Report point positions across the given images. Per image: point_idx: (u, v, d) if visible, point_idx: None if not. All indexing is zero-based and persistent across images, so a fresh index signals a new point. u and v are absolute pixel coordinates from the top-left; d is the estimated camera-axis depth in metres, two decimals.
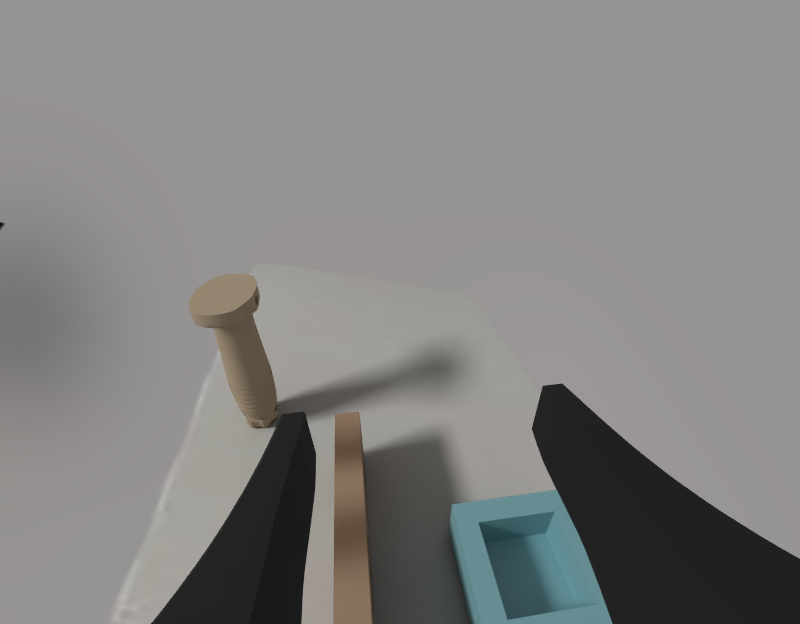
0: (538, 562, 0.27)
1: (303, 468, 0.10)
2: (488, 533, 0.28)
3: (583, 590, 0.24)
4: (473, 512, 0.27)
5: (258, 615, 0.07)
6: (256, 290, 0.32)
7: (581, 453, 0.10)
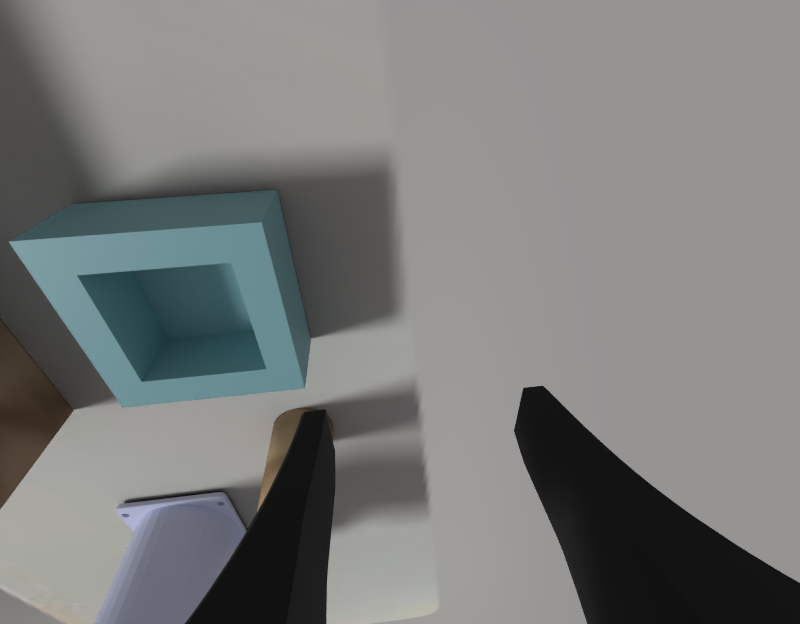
0: (228, 268, 0.18)
1: (326, 465, 0.10)
2: None
3: None
4: (62, 258, 0.14)
5: (293, 610, 0.07)
6: None
7: (558, 456, 0.10)
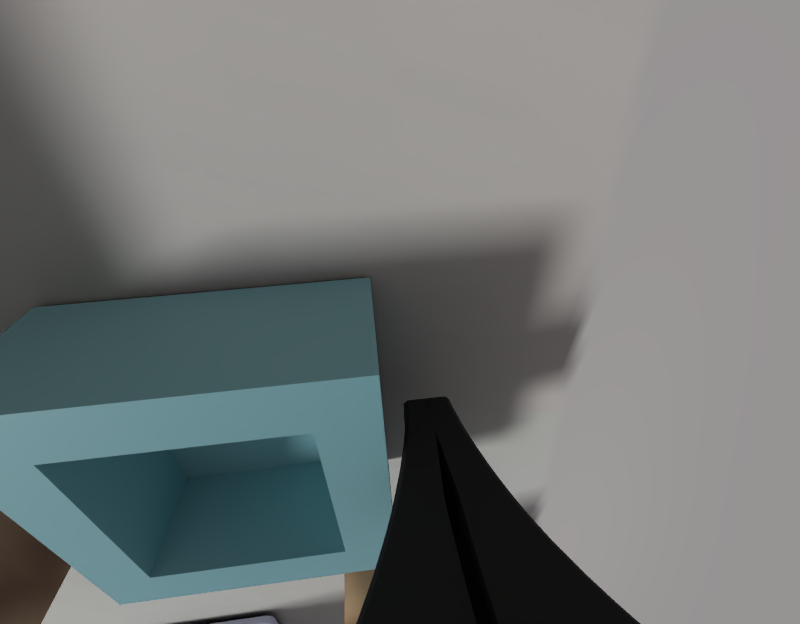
0: None
1: None
2: None
3: None
4: (4, 444, 0.07)
5: None
6: None
7: (443, 470, 0.09)
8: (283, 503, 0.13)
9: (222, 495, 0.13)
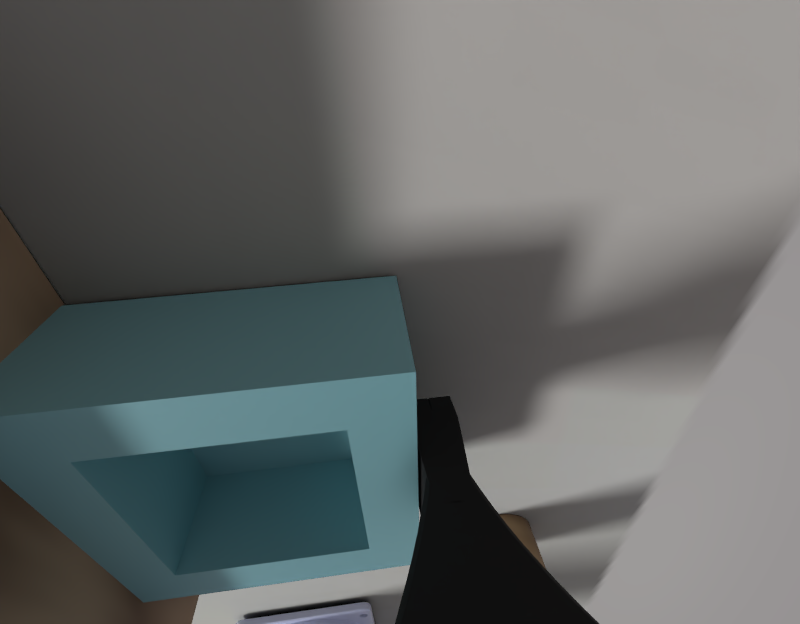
0: None
1: None
2: None
3: None
4: (42, 441, 0.07)
5: None
6: None
7: (421, 473, 0.09)
8: (305, 501, 0.13)
9: (243, 493, 0.13)
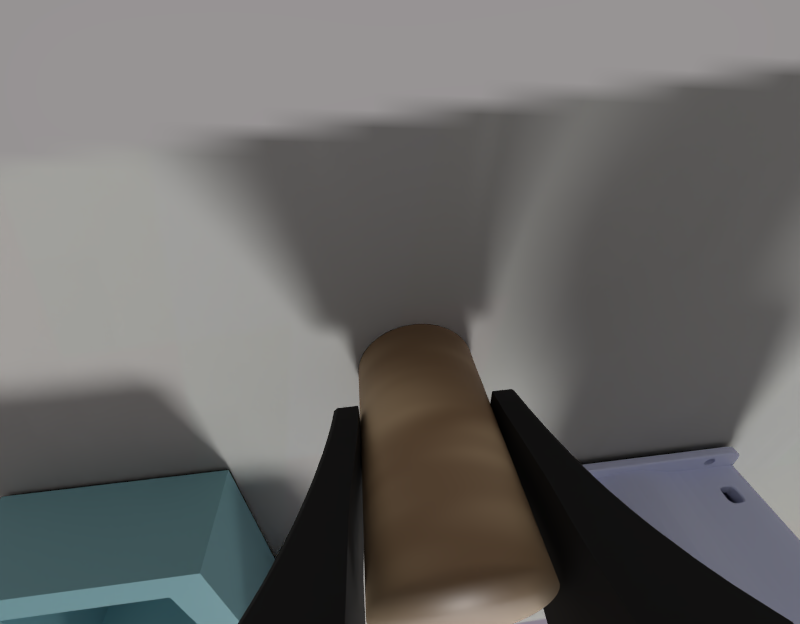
0: None
1: (360, 461, 0.10)
2: None
3: None
4: None
5: (348, 602, 0.07)
6: None
7: (522, 460, 0.10)
8: None
9: None
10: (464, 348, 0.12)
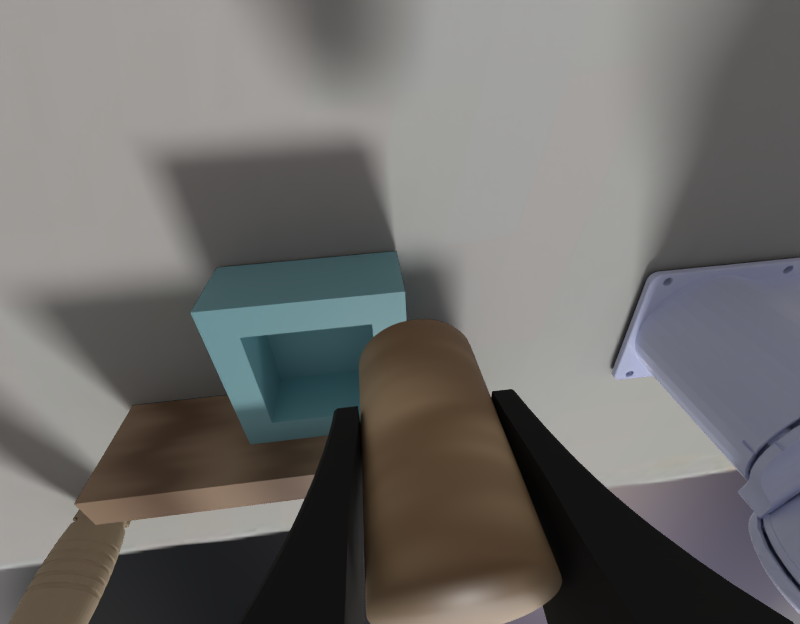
0: None
1: (360, 461, 0.10)
2: (273, 383, 0.20)
3: None
4: (258, 426, 0.20)
5: (347, 602, 0.07)
6: None
7: (522, 460, 0.10)
8: None
9: None
10: (467, 345, 0.12)
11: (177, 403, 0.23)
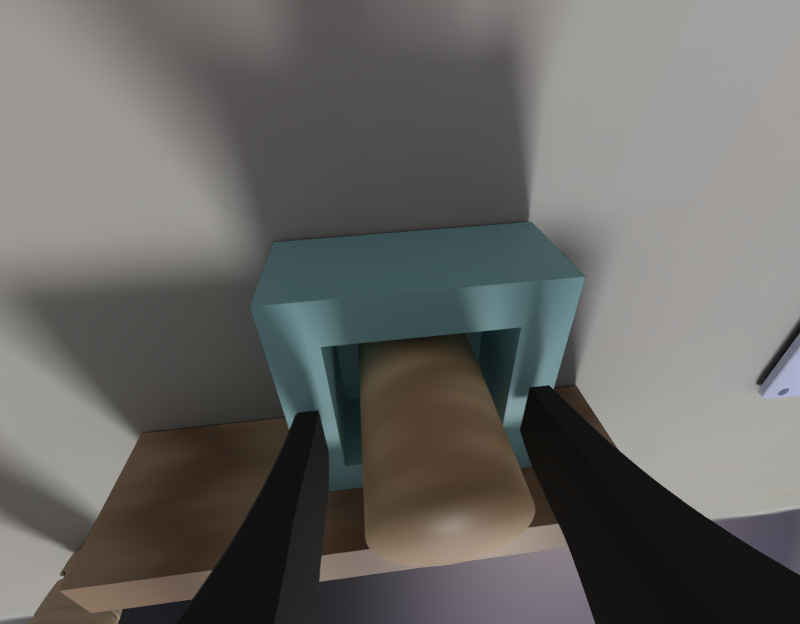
0: None
1: (318, 466, 0.10)
2: (342, 408, 0.15)
3: None
4: None
5: (282, 612, 0.07)
6: None
7: (566, 455, 0.10)
8: (494, 343, 0.13)
9: (484, 375, 0.15)
10: None
11: (202, 431, 0.17)
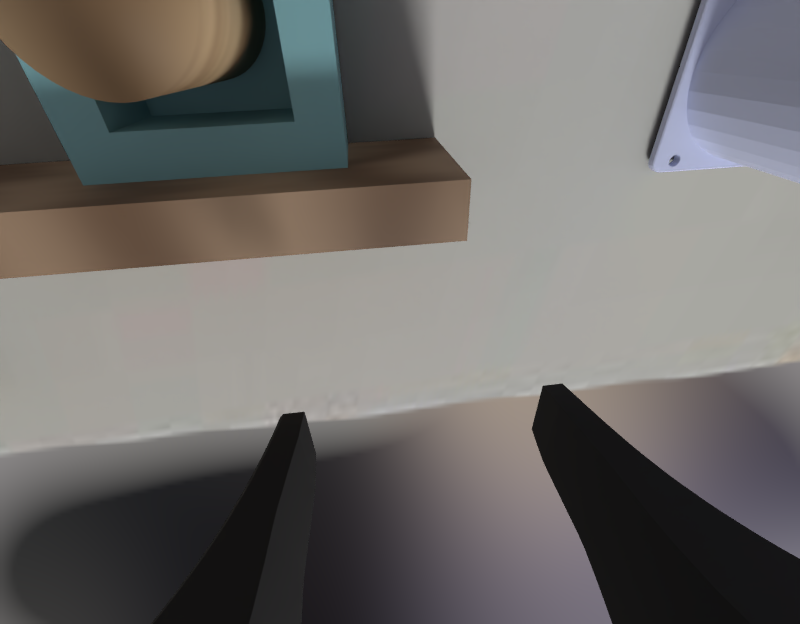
0: None
1: (303, 468, 0.10)
2: None
3: None
4: (86, 138, 0.12)
5: (258, 615, 0.07)
6: None
7: (581, 453, 0.10)
8: None
9: None
10: None
11: None
